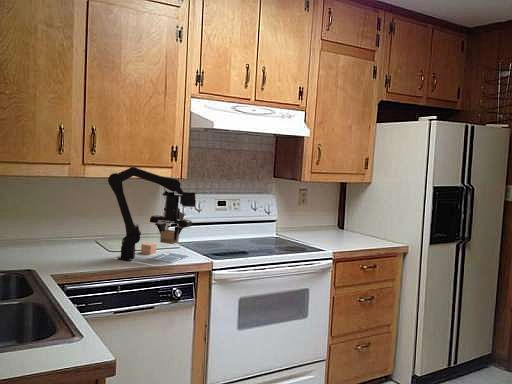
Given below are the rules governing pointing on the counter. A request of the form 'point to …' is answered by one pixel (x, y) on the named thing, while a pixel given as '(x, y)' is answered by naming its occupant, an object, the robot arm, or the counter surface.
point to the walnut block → (168, 237)
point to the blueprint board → (168, 257)
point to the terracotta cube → (148, 248)
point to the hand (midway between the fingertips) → (169, 240)
